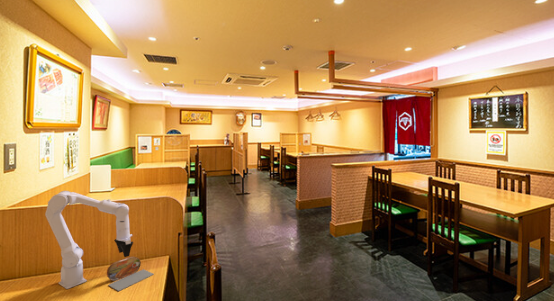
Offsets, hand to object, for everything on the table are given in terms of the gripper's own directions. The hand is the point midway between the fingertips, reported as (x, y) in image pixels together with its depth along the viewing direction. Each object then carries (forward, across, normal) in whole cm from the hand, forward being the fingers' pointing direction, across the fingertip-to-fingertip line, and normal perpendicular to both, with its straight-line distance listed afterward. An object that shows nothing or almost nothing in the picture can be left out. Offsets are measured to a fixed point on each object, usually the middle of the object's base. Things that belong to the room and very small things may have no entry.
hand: (124, 254), depth 129 cm
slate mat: (+10, -10, 0) cm, 14 cm away
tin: (+10, -3, +1) cm, 11 cm away
